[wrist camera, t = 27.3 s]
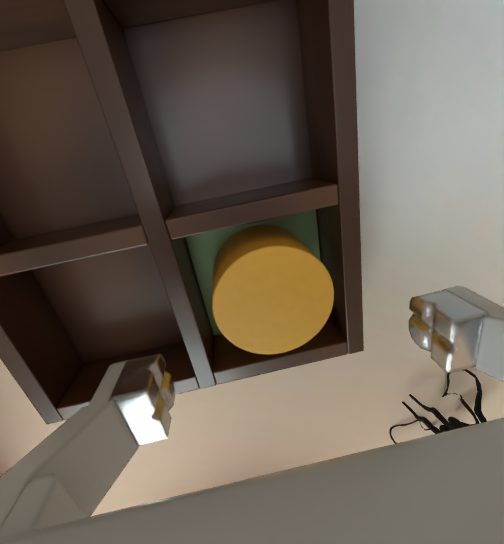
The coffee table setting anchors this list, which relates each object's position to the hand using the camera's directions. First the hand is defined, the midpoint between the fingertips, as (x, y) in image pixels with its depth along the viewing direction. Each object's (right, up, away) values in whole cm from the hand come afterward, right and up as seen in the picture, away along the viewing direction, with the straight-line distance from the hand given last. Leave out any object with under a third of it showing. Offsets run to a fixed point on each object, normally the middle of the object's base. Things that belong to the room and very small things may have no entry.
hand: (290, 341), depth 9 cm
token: (-1, +2, +5) cm, 6 cm away
